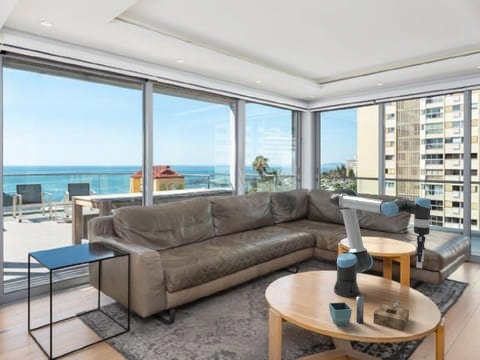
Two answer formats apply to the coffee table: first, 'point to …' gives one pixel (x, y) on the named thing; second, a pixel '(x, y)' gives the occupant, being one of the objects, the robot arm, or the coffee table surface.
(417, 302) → the coffee table surface
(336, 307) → the flower pot
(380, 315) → the block
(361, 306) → the grey metal peg
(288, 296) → the coffee table surface
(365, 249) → the robot arm
